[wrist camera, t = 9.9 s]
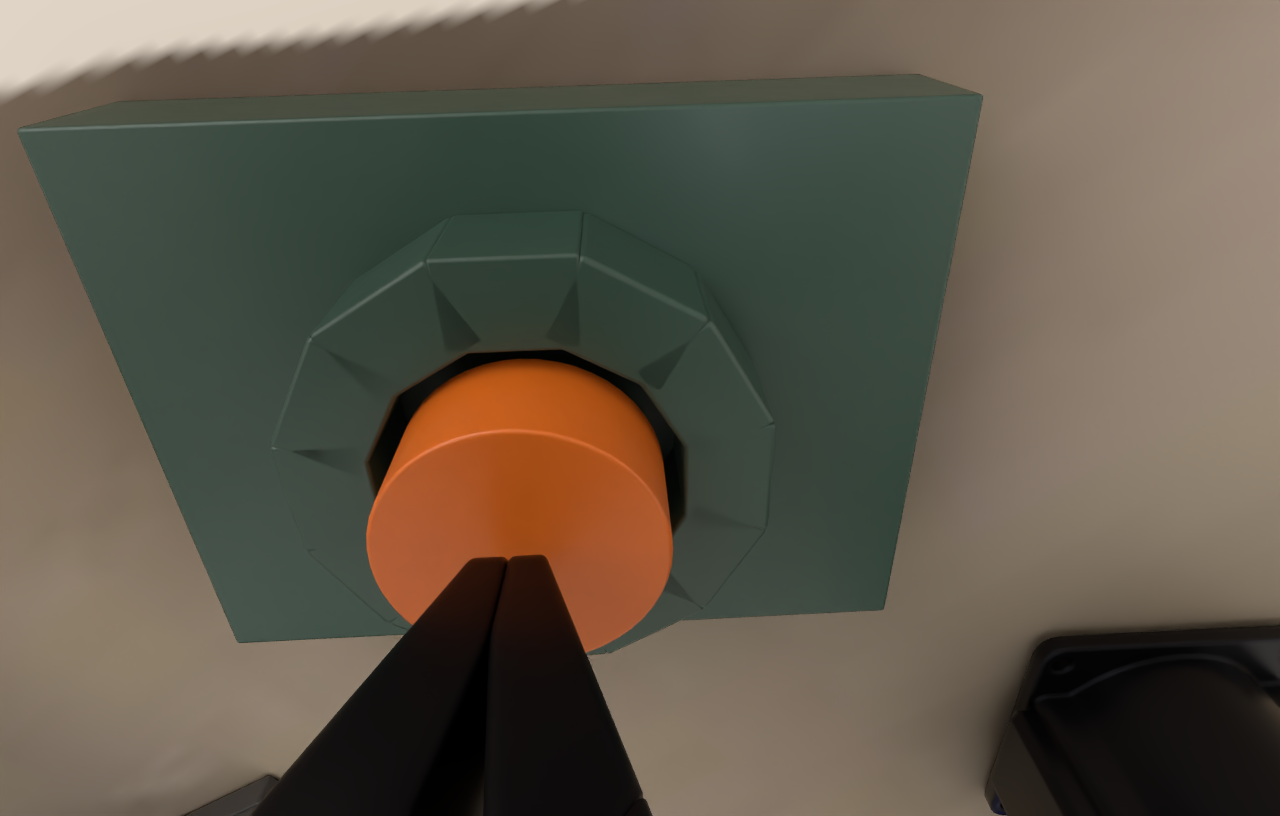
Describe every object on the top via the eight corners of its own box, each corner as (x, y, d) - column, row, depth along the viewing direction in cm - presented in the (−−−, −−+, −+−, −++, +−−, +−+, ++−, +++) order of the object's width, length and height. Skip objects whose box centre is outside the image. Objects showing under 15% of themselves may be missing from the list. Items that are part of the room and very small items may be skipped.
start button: (662, 350, 9) (673, 423, 8) (664, 564, 11) (674, 656, 10) (375, 362, 9) (331, 438, 8) (425, 576, 11) (397, 671, 10)
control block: (921, 73, 11) (1062, 118, 8) (850, 534, 16) (920, 691, 12) (116, 101, 11) (-110, 160, 7) (281, 562, 16) (189, 730, 12)
